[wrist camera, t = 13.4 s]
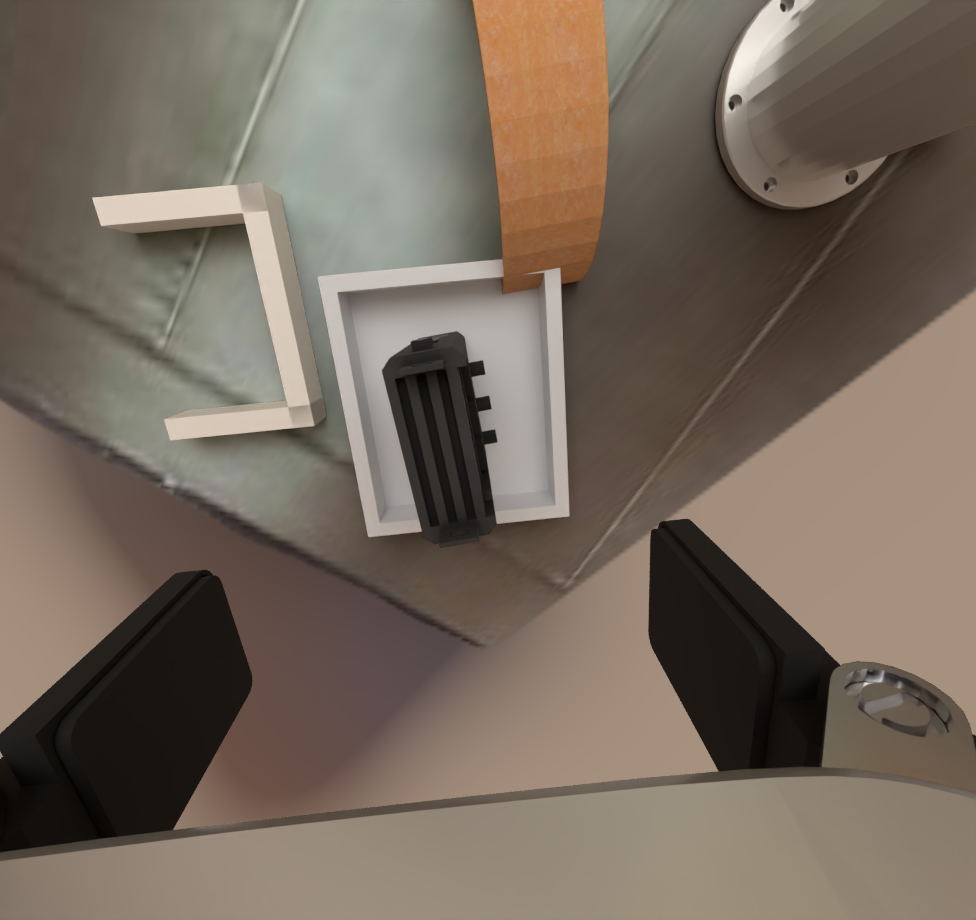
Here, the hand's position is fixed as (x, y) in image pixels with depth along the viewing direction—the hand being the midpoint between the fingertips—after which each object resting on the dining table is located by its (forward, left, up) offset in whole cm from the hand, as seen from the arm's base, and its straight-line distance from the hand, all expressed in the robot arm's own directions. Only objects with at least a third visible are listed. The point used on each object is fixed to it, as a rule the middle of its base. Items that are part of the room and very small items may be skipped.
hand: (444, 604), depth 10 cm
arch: (-6, -17, -27) cm, 32 cm away
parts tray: (0, 0, -26) cm, 26 cm away
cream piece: (+15, -7, -26) cm, 31 cm away
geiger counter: (0, 0, -26) cm, 26 cm away
